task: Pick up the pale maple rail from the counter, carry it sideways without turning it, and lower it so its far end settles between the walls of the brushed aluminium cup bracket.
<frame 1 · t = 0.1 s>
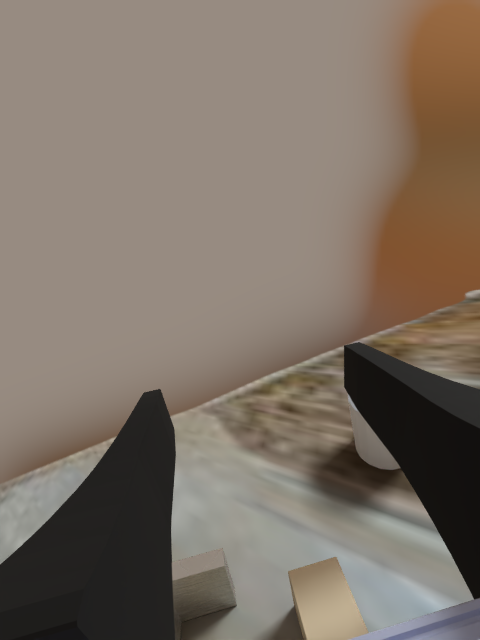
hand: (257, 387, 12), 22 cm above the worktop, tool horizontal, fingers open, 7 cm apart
shot glass: (382, 449, 34), on the worktop
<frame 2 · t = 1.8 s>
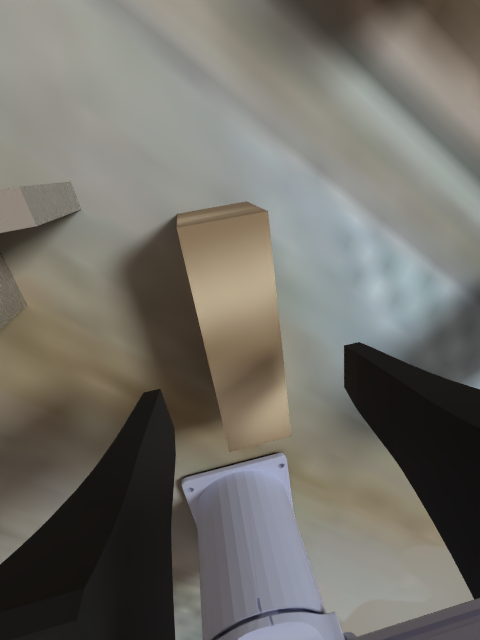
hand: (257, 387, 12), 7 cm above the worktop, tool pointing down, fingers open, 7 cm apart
maple rail: (231, 313, 18), on the worktop
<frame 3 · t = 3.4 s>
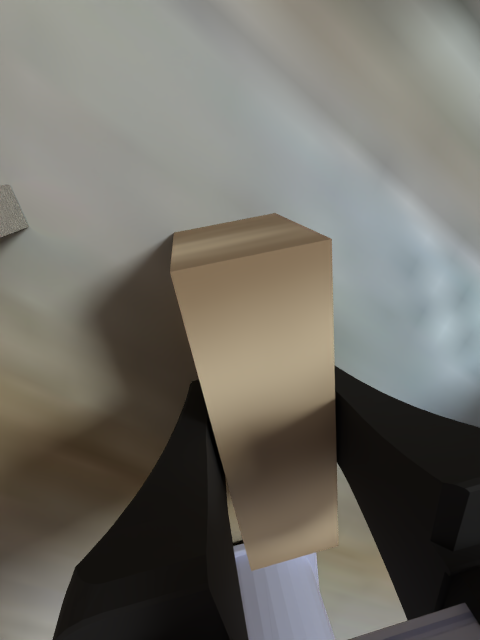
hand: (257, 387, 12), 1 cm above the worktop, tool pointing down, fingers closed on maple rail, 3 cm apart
maple rail: (250, 366, 13), on the worktop, touching gripper
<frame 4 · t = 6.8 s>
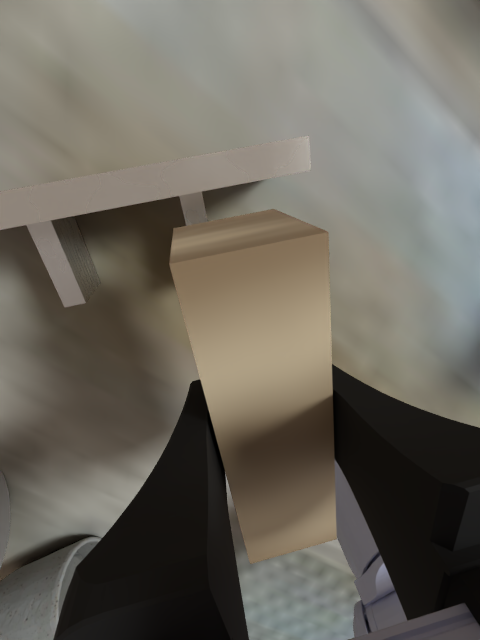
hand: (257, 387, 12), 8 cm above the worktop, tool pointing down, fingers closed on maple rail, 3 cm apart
maple rail: (249, 361, 13), point 7 cm above the worktop, touching gripper
cup bracket: (129, 209, 16), on the worktop
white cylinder: (79, 560, 28), on the worktop
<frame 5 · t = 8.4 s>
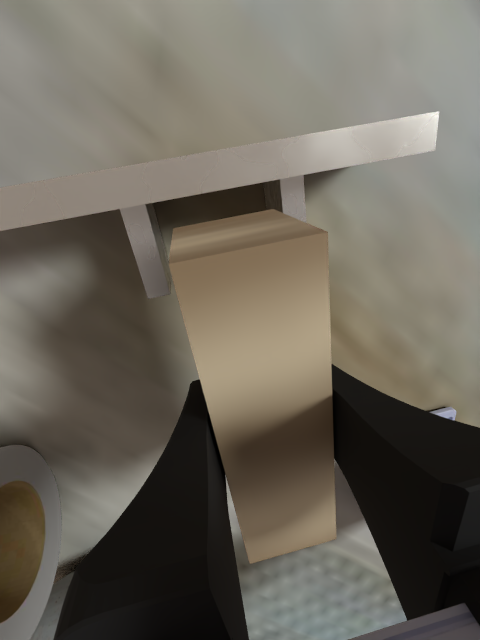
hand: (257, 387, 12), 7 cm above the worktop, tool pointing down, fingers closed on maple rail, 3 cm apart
maple rail: (248, 361, 13), point 5 cm above the worktop, touching gripper
cup bracket: (209, 195, 15), on the worktop
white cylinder: (123, 567, 27), on the worktop
when the fingers open (2 cm above the worktop, at t = 10.1 s): maple rail drops 1 cm, on the worktop.
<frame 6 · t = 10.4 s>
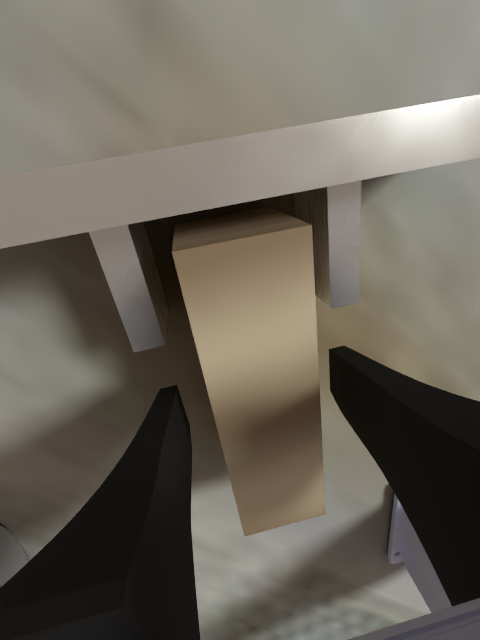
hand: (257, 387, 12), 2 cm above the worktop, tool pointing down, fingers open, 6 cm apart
maple rail: (245, 349, 14), on the worktop
cup bracket: (219, 204, 11), on the worktop
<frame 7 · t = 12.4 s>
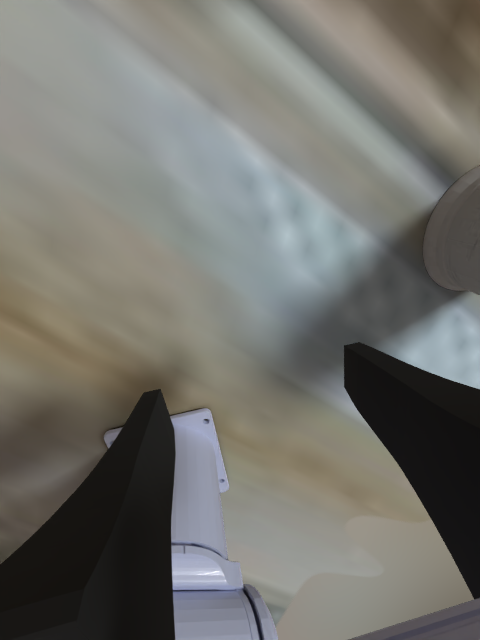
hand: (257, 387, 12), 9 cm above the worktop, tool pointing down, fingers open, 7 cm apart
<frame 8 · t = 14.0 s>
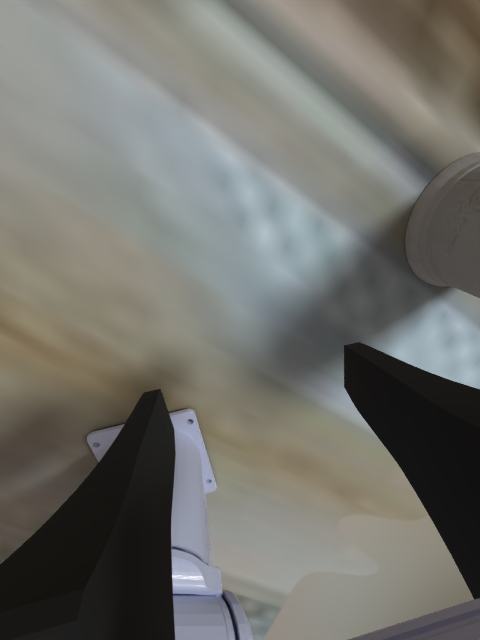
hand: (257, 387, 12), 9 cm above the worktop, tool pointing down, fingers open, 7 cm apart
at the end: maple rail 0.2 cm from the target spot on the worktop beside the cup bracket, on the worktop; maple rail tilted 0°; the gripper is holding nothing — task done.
